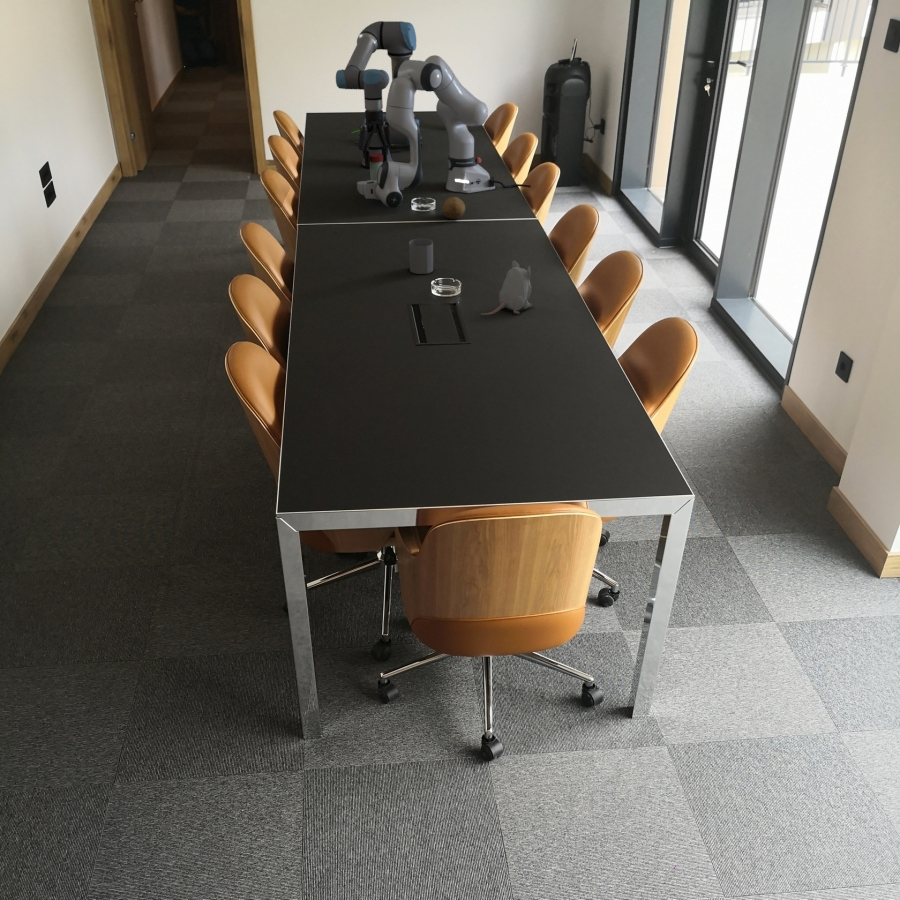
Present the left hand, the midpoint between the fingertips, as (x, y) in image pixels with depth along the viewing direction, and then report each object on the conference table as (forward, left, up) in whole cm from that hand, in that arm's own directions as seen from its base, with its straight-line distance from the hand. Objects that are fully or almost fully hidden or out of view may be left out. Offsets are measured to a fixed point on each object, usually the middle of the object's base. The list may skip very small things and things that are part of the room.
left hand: (376, 164), depth 377 cm
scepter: (-77, -61, -14) cm, 99 cm away
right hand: (0, -1, -7) cm, 7 cm away
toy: (+78, +113, -14) cm, 138 cm away
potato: (+7, +45, -14) cm, 48 cm away
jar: (0, 0, -14) cm, 14 cm away
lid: (0, 0, +4) cm, 4 cm away
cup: (+62, +69, -14) cm, 94 cm away
